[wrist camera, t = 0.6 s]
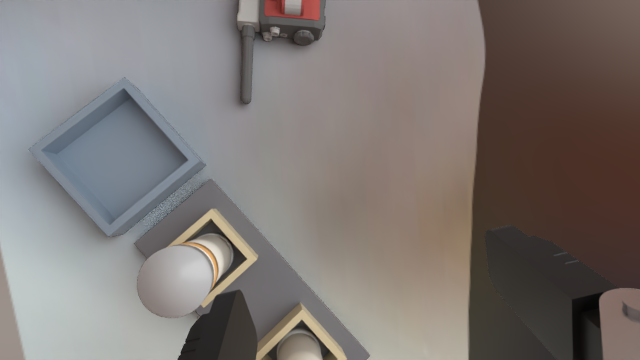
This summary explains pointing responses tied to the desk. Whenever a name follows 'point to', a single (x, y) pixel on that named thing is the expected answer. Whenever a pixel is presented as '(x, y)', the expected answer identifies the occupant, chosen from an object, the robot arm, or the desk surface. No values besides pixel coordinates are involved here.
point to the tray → (118, 158)
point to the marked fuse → (183, 274)
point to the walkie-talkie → (276, 28)
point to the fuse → (299, 345)
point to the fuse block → (254, 276)
